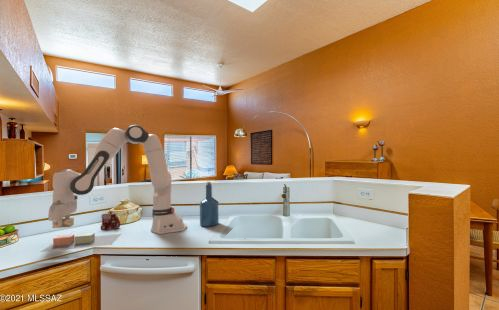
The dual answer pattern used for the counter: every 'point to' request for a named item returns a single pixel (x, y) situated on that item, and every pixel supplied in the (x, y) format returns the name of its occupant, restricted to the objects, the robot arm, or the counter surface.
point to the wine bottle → (209, 209)
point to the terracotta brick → (63, 240)
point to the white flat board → (97, 242)
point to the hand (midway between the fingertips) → (63, 224)
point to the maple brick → (64, 223)
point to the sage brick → (84, 238)
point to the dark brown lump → (110, 221)
